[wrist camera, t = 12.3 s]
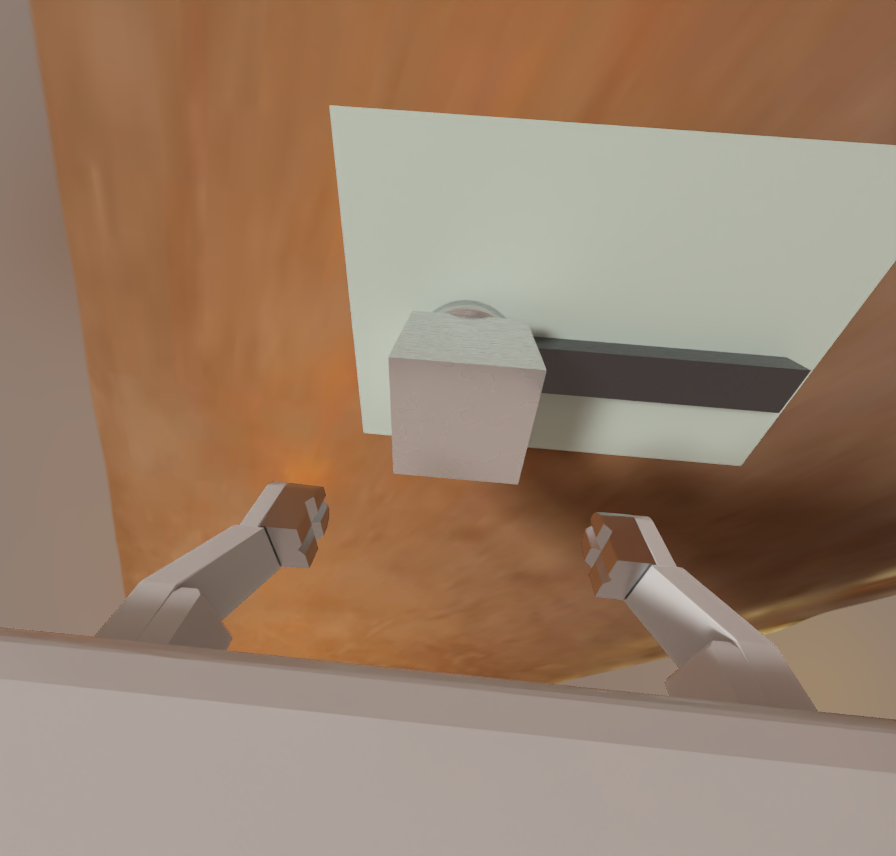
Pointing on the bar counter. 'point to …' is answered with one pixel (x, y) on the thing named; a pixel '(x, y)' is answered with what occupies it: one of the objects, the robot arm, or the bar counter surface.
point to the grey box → (463, 396)
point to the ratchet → (658, 371)
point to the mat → (611, 252)
